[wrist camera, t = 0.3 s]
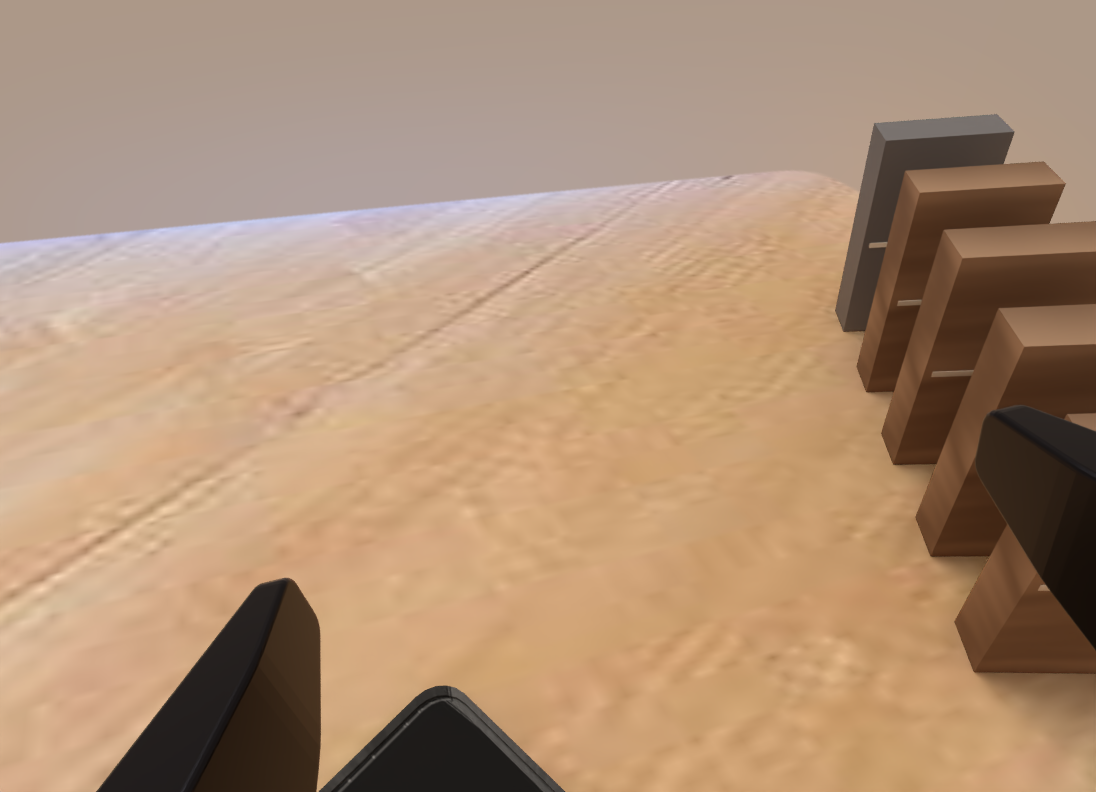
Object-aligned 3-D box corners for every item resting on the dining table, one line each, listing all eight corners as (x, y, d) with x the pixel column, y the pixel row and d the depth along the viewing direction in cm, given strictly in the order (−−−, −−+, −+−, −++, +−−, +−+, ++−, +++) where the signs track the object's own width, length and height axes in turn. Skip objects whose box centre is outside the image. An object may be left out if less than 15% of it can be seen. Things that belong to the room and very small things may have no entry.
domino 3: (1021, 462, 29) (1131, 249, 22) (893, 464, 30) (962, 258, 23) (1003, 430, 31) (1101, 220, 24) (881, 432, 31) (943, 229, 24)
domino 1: (947, 327, 36) (1014, 132, 29) (843, 331, 36) (886, 140, 30) (934, 305, 37) (996, 114, 30) (835, 310, 38) (873, 123, 31)
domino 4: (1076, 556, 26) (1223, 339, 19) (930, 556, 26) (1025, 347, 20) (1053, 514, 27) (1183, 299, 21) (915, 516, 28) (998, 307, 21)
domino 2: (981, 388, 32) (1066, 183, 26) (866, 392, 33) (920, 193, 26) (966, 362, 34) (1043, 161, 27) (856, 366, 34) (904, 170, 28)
